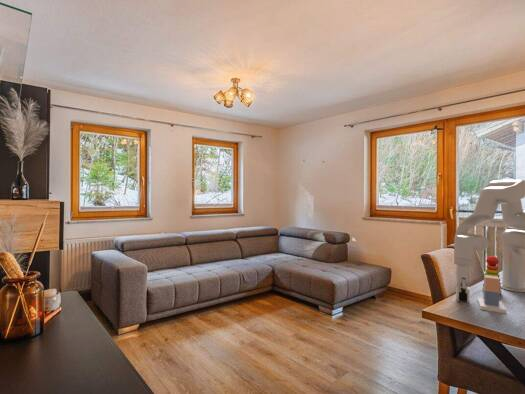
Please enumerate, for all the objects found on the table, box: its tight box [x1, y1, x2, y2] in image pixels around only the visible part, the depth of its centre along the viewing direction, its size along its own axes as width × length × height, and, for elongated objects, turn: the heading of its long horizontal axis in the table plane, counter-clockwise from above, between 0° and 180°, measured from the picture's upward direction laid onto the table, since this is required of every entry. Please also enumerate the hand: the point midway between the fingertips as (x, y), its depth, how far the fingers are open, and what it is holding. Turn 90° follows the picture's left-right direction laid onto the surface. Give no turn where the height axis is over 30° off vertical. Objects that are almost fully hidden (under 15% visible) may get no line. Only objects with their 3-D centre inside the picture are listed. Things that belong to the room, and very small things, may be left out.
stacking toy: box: [482, 255, 502, 295], centre depth 158 cm, size 8×8×19 cm
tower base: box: [476, 289, 507, 314], centre depth 138 cm, size 12×9×8 cm
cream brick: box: [455, 284, 470, 303], centre depth 147 cm, size 5×5×6 cm
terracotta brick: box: [483, 274, 501, 293], centre depth 138 cm, size 5×5×6 cm
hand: (462, 298), depth 147 cm, fingers closed on cream brick, 5 cm apart
